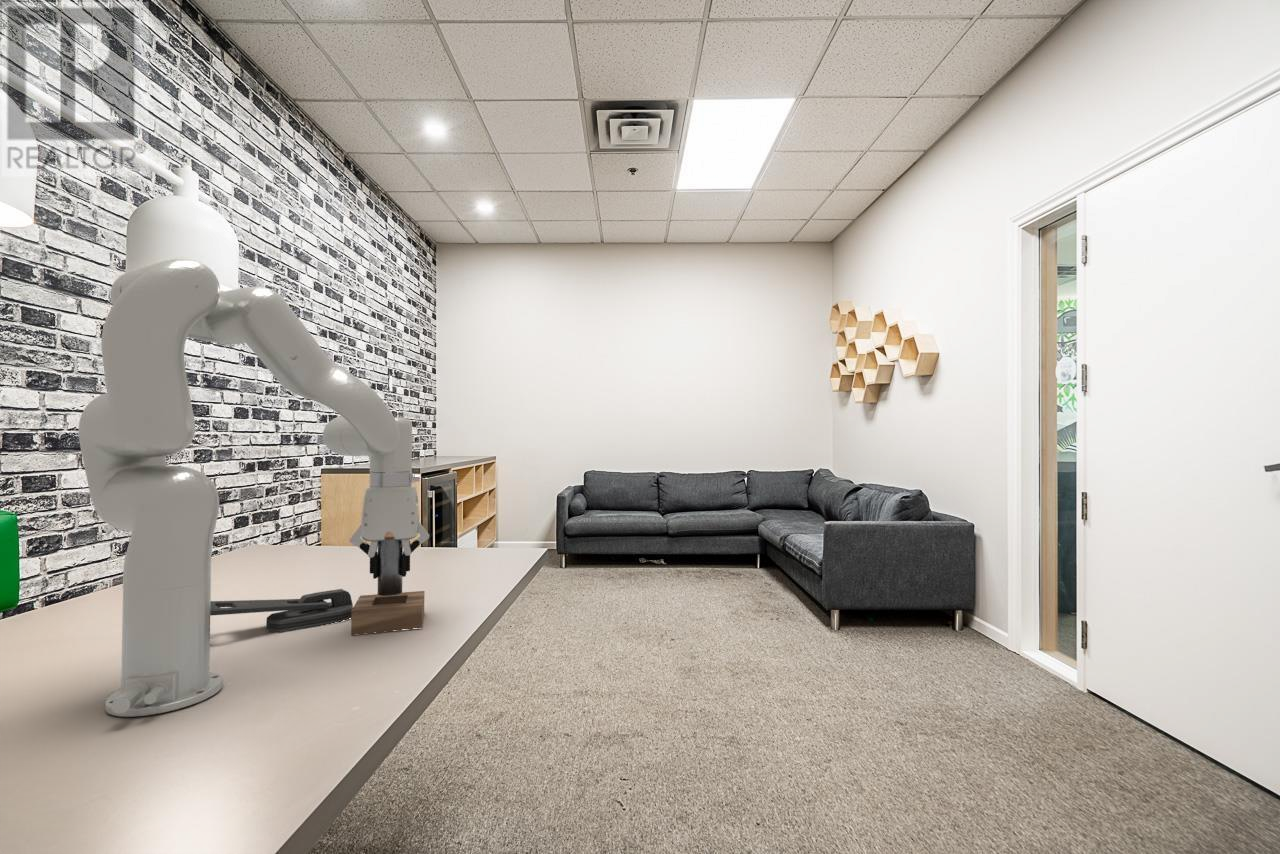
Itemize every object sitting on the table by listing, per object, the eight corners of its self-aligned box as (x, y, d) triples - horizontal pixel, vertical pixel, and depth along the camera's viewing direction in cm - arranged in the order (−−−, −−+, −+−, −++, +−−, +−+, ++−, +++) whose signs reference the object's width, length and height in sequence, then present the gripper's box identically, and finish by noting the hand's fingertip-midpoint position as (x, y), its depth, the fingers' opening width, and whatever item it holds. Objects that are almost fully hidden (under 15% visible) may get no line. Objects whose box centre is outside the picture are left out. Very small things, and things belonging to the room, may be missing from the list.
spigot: (401, 594, 114) (402, 531, 114) (375, 596, 112) (376, 532, 113) (403, 589, 118) (404, 528, 118) (378, 590, 117) (378, 529, 117)
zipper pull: (196, 601, 107) (343, 578, 125) (195, 638, 107) (343, 610, 125) (205, 610, 101) (359, 585, 119) (205, 650, 101) (359, 619, 119)
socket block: (421, 629, 112) (422, 604, 112) (351, 635, 108) (351, 610, 108) (424, 613, 122) (424, 590, 122) (359, 618, 119) (360, 595, 119)
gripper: (437, 479, 122) (436, 569, 121) (346, 480, 117) (345, 575, 116) (436, 481, 115) (435, 577, 114) (339, 483, 110) (338, 583, 109)
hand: (390, 575), depth 115 cm, fingers closed on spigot, 4 cm apart
